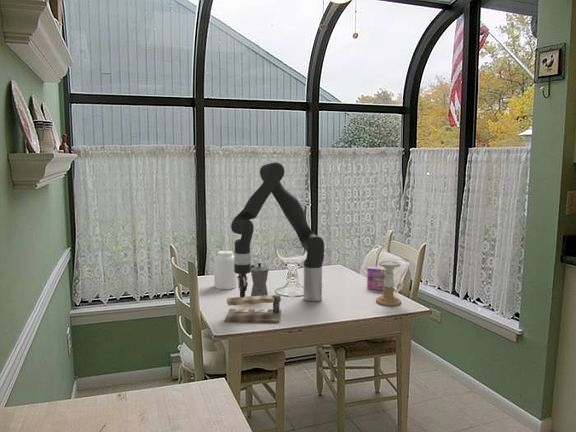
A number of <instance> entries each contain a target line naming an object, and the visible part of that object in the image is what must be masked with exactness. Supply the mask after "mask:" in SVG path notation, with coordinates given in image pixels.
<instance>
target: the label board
mask: <svg viewBox="0 0 576 432" xmlns="http://www.w3.org/2000/svg"><path fill="white" fill-rule="evenodd" d="M280 303H281V301H279V302H273V303H272V309H270V308H269V309H266V308H263V309H262V308H229V310H228V312H227V313H226V314H227V315H226V316H225V318H224V323H251V324H279V323H280V320H281V315H282V314H281V312H282V309H280Z"/></svg>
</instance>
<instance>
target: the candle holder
mask: <svg viewBox="0 0 576 432" xmlns="http://www.w3.org/2000/svg"><path fill="white" fill-rule="evenodd" d="M378 265H379V267H384V268H385V269H386V273H385V274H384V275H385V280H384V283H383V285H384V286H385V287H384V288H383V290H382V291H383V294H382V295H380V296H378V297H376V299H375V302H376V303H377V304H378V305H381V306H386V307H396V306H400V305H401V303H402V301H401V299H400V298H398V297H397V296H395V295H394V292H395V291H396V290H395V280H394V277H395V274H394V270H395V269H396V268H400V266H401V263H400V262H398V261H394V260H393V261H392V260H383V261H379V264H378Z"/></svg>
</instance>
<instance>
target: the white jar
mask: <svg viewBox="0 0 576 432" xmlns="http://www.w3.org/2000/svg"><path fill="white" fill-rule="evenodd" d="M234 255H235V254H234V251H231V250H225V249H224V250H220V251H218V252H217V253H216V256H215V257H214V259H213V266H214V267H213V272H214V273H213V275H214V280H213V281H214V285H213V286H214V288H215V289H217V290H231V289H236V288H237V287H238V278H237V277H238V274H237V273H235V272H234Z"/></svg>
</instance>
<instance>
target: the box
mask: <svg viewBox="0 0 576 432" xmlns="http://www.w3.org/2000/svg"><path fill="white" fill-rule="evenodd" d="M366 273H367V276H366V277H367V278H366V279H367V280H366V283H367V284H366V285H367V286H366V289H367V290H368V289H369V290H376V291H377V290H378V291H384V290H383V288H384V287H385V286H384V285H383V283H384V280H385V275H384V274H385V273H386V269H385V268H384V267H382V266H373V265H369V266H368V267H367V272H366Z"/></svg>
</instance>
